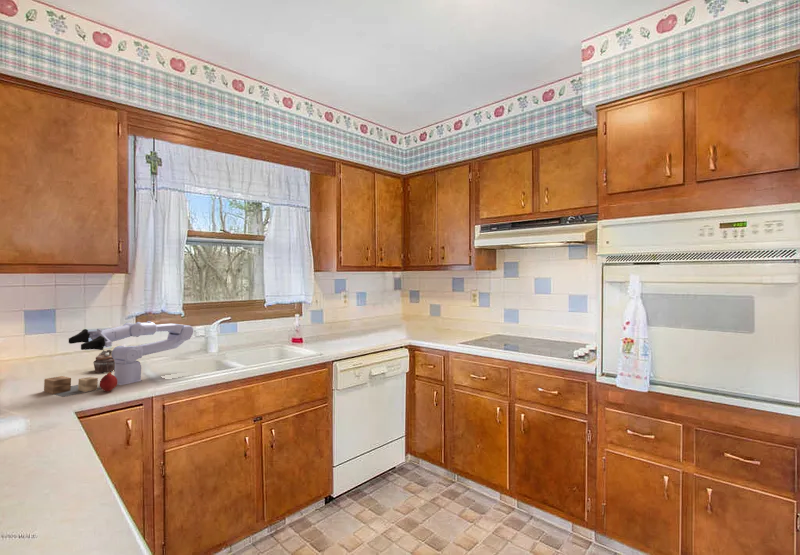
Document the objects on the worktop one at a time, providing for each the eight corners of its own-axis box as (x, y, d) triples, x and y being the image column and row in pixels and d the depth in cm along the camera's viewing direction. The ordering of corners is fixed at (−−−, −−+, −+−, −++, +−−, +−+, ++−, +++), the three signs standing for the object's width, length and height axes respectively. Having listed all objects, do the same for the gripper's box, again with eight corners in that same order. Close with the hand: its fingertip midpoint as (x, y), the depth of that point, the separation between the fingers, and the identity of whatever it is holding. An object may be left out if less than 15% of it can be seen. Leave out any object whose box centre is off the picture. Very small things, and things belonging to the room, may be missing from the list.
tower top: (61, 382, 166) (62, 375, 166) (70, 384, 164) (71, 378, 164) (44, 385, 161) (44, 378, 161) (53, 387, 158) (53, 381, 158)
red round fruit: (107, 394, 162) (108, 374, 162) (95, 393, 163) (96, 372, 163) (120, 391, 168) (121, 371, 168) (108, 389, 169) (109, 370, 169)
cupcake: (104, 368, 205) (105, 348, 205) (122, 369, 204) (123, 349, 204) (87, 372, 195) (88, 351, 195) (106, 373, 194) (107, 352, 194)
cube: (90, 387, 169) (90, 376, 169) (97, 389, 167) (97, 378, 167) (78, 390, 165) (78, 378, 165) (84, 391, 163) (85, 380, 163)
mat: (82, 384, 174) (82, 383, 174) (102, 389, 168) (102, 388, 168) (42, 392, 161) (42, 391, 161) (63, 397, 156) (63, 396, 156)
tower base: (61, 388, 166) (61, 382, 166) (70, 390, 164) (70, 384, 164) (43, 391, 161) (44, 385, 161) (52, 394, 158) (53, 387, 158)
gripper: (100, 321, 176) (64, 328, 164) (122, 331, 171) (87, 340, 159) (99, 336, 178) (63, 345, 165) (122, 347, 172) (86, 357, 160)
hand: (75, 344), depth 162 cm, fingers open, 7 cm apart
